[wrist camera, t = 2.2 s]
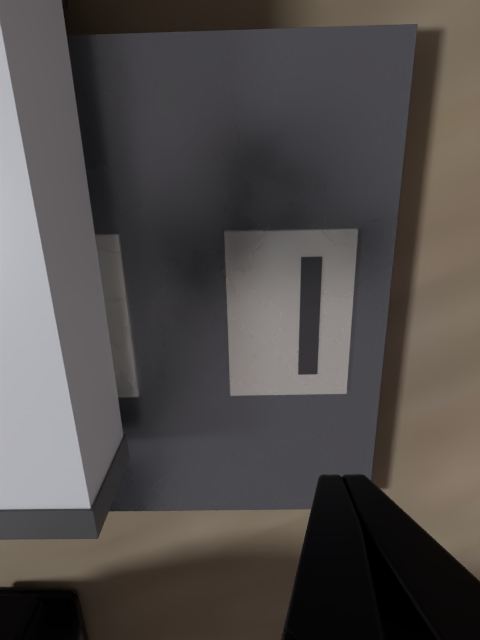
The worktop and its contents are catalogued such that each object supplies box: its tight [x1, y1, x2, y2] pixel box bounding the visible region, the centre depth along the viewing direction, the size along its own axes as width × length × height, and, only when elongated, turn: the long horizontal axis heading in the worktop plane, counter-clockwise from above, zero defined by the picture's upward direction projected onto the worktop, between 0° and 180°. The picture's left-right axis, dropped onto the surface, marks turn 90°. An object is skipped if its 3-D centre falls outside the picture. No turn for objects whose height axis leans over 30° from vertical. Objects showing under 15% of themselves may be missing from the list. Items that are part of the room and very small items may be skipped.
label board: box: [62, 0, 417, 511], centre depth 17 cm, size 24×16×2 cm
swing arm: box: [0, 0, 130, 540], centre depth 13 cm, size 20×4×4 cm, turn 1°
